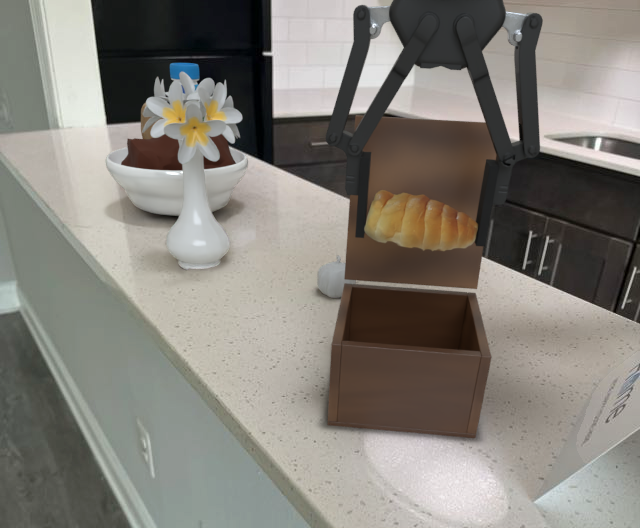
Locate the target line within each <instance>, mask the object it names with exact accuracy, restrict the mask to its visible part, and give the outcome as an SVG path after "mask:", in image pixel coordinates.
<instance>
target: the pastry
mask: <svg viewBox="0 0 640 528" xmlns="http://www.w3.org/2000/svg"><path fill="white" fill-rule="evenodd" d="M364 231H365V233H366V234H367V235H368V236H369V237H371V238H372V239H374V240H375V241H376V242H382V243H385V244H386V242H387V241H392V242H395V243H397V245H398V246H403V247H408V248H413V247H417V248H421V249H423V251H424V250H425V249H430V250H432V251H434V250H439V251H445V250H452V249H454V248H467V247H468V246H470V245H472V244H473V242H474V241H475V239H476V234H477V231H478V223H477V222H475V221H474V220H473V219H472V218H471V217H469V216H468V215H467V214H465V213H463V212H458V211H457V210H455V209H453V208H452V207H450V206H448V205H445V204H444V203H441V202H439V201H436V200H431V199H429V198H428V197H427V196H425V195H417V196H415V195H411V194H408V193H401V194H398V195H394V194H392V193H390V192H388V191H386V190H381V191H379V192H378V193H376V195H375V197H374V200H373V201H372V204H371V207H370V210H369V213H368V216H367V220H366V225H365V227H364Z"/></svg>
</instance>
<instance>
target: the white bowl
mask: <svg viewBox="0 0 640 528" xmlns="http://www.w3.org/2000/svg"><path fill="white" fill-rule="evenodd" d="M209 137H210V139H211V140H212V141H213V142H214V144H215V145H216V147H217V149H218V151H219V154H220V158H219V160H218V161H211V160H209V159H207V158H206V157H205V156H204V174H205V184H206V193H207V199H208V204H209V207H210V209H211V212H212V213H213V212H216V211H219V210H221V209H223V208H224V207H225V206H227V205H228V204H229V203H230V200H231V198H232V196H233V193H234V190H235V188H236V187H237V186H238V185H239V184H240V182H241V181H242V179H243V178H244V176H245V174H246V173H247V170H248V167H249V160H248V157H247V156H246V154H245V153H243V152H242V151H240V150H237V149H235V148H231V147H230V145H229V141H228V140H227V139H226V138H225V137H224V136H223V135H222V134H220V135H218V136H215V137H211V136H209ZM179 148H180V147H179V143H178V139H173V138H171V137H169V136H167V135H166V134H164V135H162V136H160V137H157V138H151V139H143V138H136V137H135V138H127V139H126V147H121V148H118V149H115V150H113V151H110V152H109V153H108V154H107V155H106V157H105V159H104V160H105V161H104V162H105V168H106V169H107V171H108V173H109V174H110V176H111V177H112V178H113V180H114V182H116V183H117V184H118V185H119V186H120V187H121V188H122V189H123V190H124V191H125V193H126V195H127V197H128V199H129V200H130V202H131V203H132V204H133V206H134V207H136V208H138V209H139V210H141V211H143V212H147V213H150V214H154V215H162V216H173V217H179V215H180V212H181V209H182V204H183V170H182V164H181V163H180V162H179V160H178V151H179Z"/></svg>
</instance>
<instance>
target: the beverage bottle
mask: <svg viewBox="0 0 640 528" xmlns="http://www.w3.org/2000/svg"><path fill="white" fill-rule="evenodd" d="M180 72H185V73H186V74H187V75H188V76H189V77H190V78H191V79H192V81H193V83H194V85H195V90H196V89H197V87H198V85H199V83H198V81H200V67H199V64H198V63H191V62H172V63H170V64H169V75H170V80H172V81H179V82H180V84H181V86H182V83H181V81H180V77H179V74H180ZM182 91H183V93H184V94H185V90H184V88H183V86H182Z"/></svg>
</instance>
